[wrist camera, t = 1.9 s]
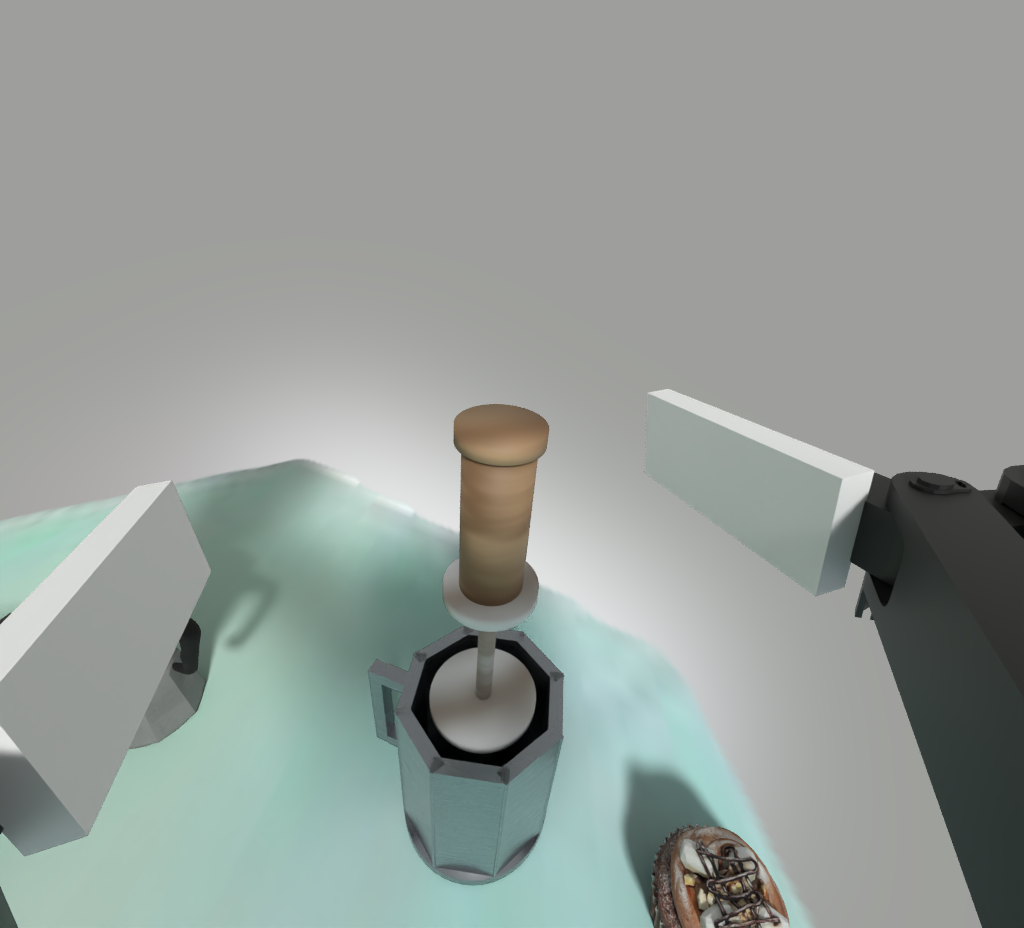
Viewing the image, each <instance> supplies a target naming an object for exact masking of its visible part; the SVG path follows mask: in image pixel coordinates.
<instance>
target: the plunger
mask: <svg viewBox="0 0 1024 928" xmlns="http://www.w3.org/2000/svg"><path fill="white" fill-rule="evenodd" d="M548 434H549V425H548V423H547V422H546V420H545V419H544V418H543V417H541V416H540V415H538V414H537V413H535V412H533V411H530V410H528V409H525V408H521V407H517V406H511V405H502V404H501V405H500V404H489V405H480V406H475V407H472V408H469V409H466V410H464V411H462V412H461V413H460V414H458V415H457V416H456V418H455V420H454V445H455V447H456V449H457V450H458V451H459V452H460V453H461V496H460V498H461V501H460V549H459V557H458V558H457V559H456V560H454V561H453V562H452V563H451V564H450V565H449V566H448V568H447V570H446V571H445V574H444V577H443V602H444V605H445V607H446V609H447V611H448V612H449V614H450V615H451V616H452V617H453V618H454V619H455V620H456V621H458V622H459V623H461V624H462V625H464V626H466V627H469V628H471V629H475V630H479V635H478V648H471V649H468V650H464V651H462V652H459V653H458V654H456V655H454V656H452V657H451V658H449V659H448V660H447V661H446V662H445V663H444V664H443V665H442V666H441V667H440V669H439V670H438V671H437V673H436V675H435V677H434V679H433V682H432V684H431V689H430V712H431V717H432V720H433V722H434V725H435V727H436V728H437V730H438V731H439V733H440V734H441V735H442V737H443V738H444V739H445V740H446V741H448V742H449V743H450V744H452V745H453V746H455V747H457V748H459V749H461V750H464V751H466V752H471V753H478V754H486V753H493V752H498V751H500V750H503V749H505V748H507V747H509V746H511V745H512V744H514V743H515V742H517V741H518V740H519V739H520V738H521V737H522V736H523V735H524V733H525V732H526V731H527V729H528V728H529V726H530V724H531V721H532V719H533V715H534V711H535V705H536V689H535V685H534V681H533V679H532V677H531V675H530V673H529V671H528V670H527V668H526V667H525V666H524V665H523V664H522V663H521V662H520V661H519V660H518V659H517V658H515V657H514V656H512V655H511V654H509V653H507V652H505V651H502V650H499V649H495V643H496V632H497V631H504V630H508V629H511V628H513V627H516V626H518V625H519V624H521V623H522V622H524V621H525V620H526V619H527V618H528V617H529V616H530V615H531V614H532V612H533V610H534V609H535V606H536V602H537V596H538V589H539V583H538V578H537V575H536V573H535V571H534V570H533V569H532V567H531V566H530V565H529V564H528V563H527V562H526V553H527V545H528V536H529V528H530V519H531V511H532V502H533V494H534V485H535V477H536V468H537V459H538V458H540V457H541V456H542V455H543V454H544V453H545V451H546V449H547V442H548Z"/></svg>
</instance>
